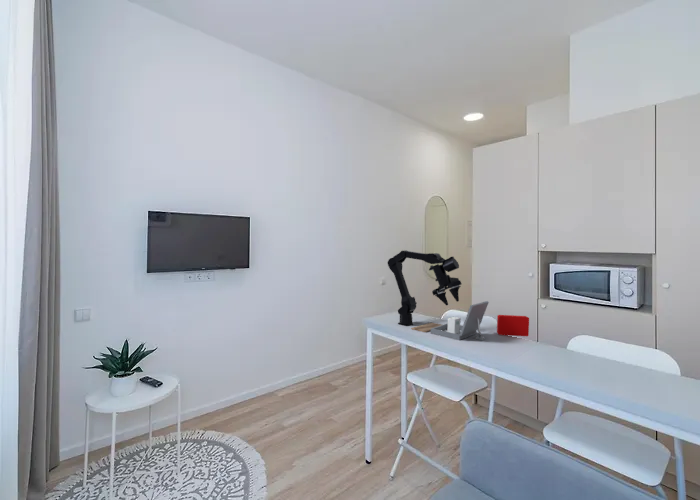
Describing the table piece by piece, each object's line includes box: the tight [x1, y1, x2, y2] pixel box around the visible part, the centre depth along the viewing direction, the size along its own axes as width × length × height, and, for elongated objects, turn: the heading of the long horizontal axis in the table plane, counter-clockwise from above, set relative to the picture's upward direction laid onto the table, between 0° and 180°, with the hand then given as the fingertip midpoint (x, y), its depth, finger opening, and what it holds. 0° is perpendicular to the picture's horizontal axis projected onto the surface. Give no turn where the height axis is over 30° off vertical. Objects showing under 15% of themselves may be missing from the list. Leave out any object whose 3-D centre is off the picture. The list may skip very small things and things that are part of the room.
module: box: [446, 316, 461, 334], centre depth 180 cm, size 4×6×8 cm
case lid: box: [459, 300, 490, 336], centre depth 172 cm, size 16×19×1 cm
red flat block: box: [496, 314, 530, 337], centre depth 180 cm, size 15×3×10 cm, turn 84°
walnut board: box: [411, 322, 442, 333], centre depth 191 cm, size 9×20×1 cm, turn 136°
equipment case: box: [430, 319, 485, 341], centre depth 177 cm, size 24×19×10 cm
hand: (452, 303), depth 179 cm, fingers open, 9 cm apart
